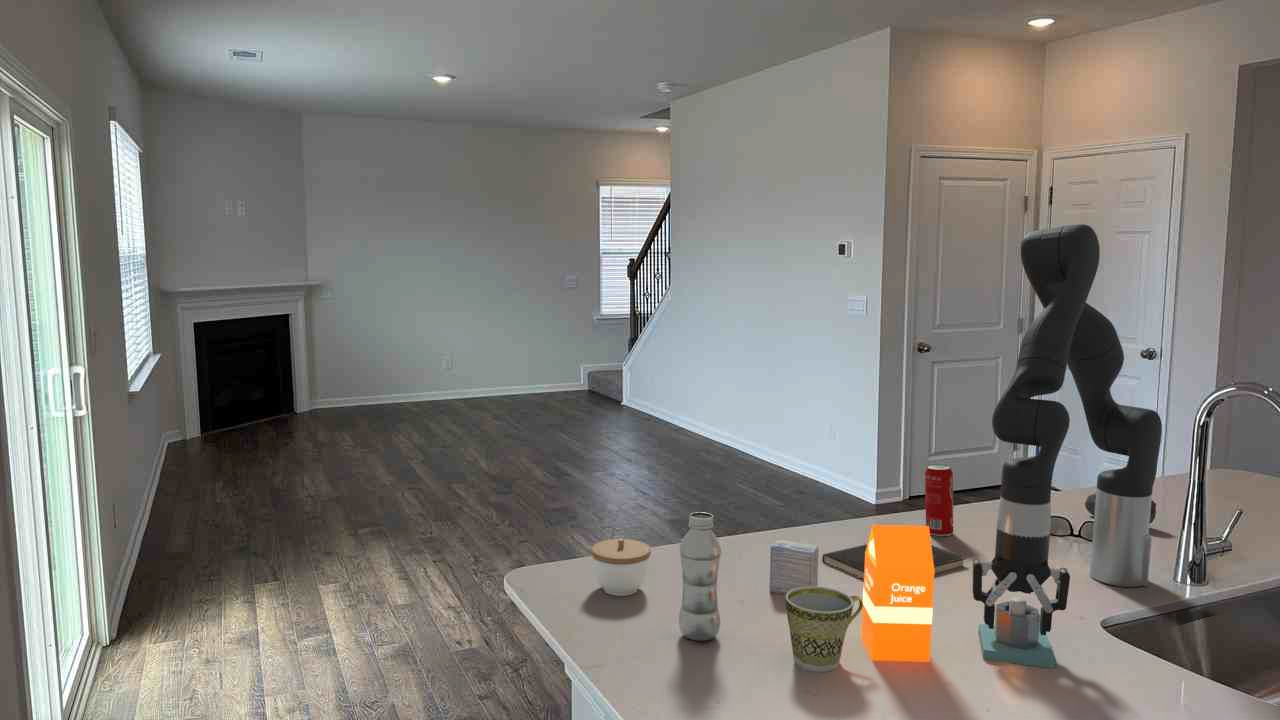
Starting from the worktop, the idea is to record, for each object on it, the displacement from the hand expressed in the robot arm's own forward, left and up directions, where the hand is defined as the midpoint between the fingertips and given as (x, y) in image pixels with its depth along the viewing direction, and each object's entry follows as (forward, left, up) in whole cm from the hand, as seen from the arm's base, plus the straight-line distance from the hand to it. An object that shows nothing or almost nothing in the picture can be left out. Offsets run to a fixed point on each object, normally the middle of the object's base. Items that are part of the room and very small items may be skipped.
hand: (1016, 629), depth 140 cm
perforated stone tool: (-30, -79, -4) cm, 85 cm away
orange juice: (+18, +6, -3) cm, 19 cm away
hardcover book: (+19, -34, -4) cm, 39 cm away
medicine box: (+36, -13, -3) cm, 38 cm away
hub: (0, 0, -2) cm, 2 cm away
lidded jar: (+66, -4, -3) cm, 66 cm away
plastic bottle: (+48, +11, -3) cm, 49 cm away
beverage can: (+10, -57, -3) cm, 58 cm away
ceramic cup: (+28, +13, -3) cm, 31 cm away
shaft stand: (0, 0, -3) cm, 3 cm away
